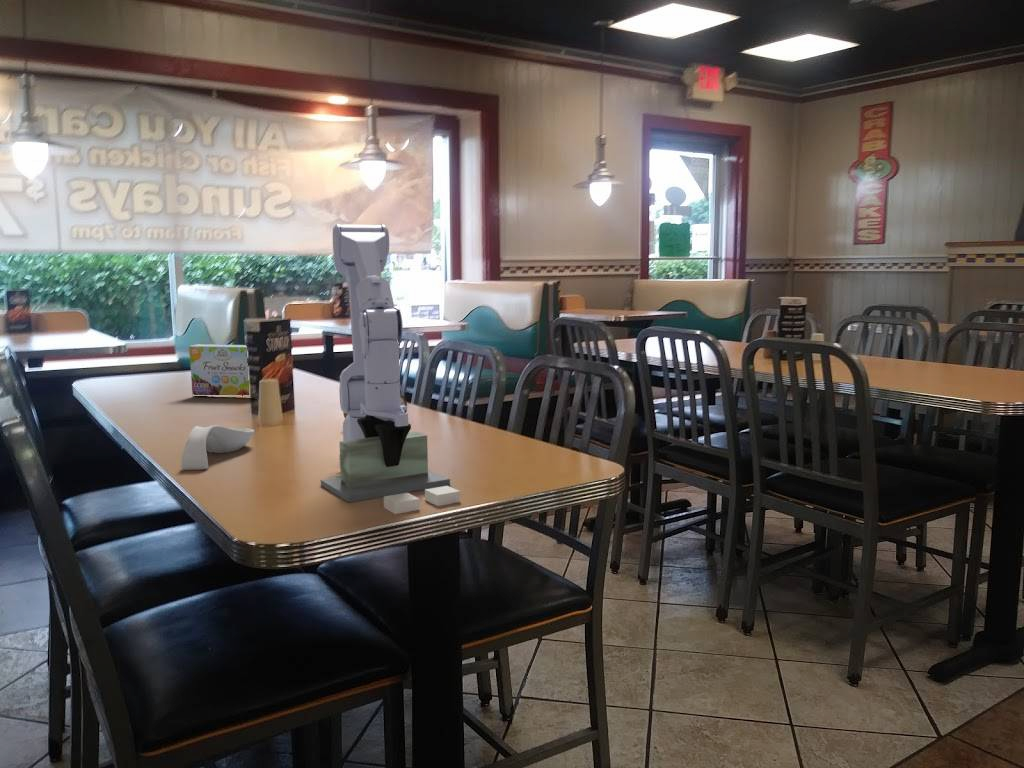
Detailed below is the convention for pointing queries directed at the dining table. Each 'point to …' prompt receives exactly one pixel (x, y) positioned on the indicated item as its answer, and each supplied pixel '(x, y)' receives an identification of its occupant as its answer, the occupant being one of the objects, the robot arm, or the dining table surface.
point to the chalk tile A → (401, 503)
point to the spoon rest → (212, 444)
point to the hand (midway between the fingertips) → (384, 462)
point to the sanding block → (381, 461)
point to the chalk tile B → (442, 495)
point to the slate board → (384, 487)
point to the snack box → (219, 369)
